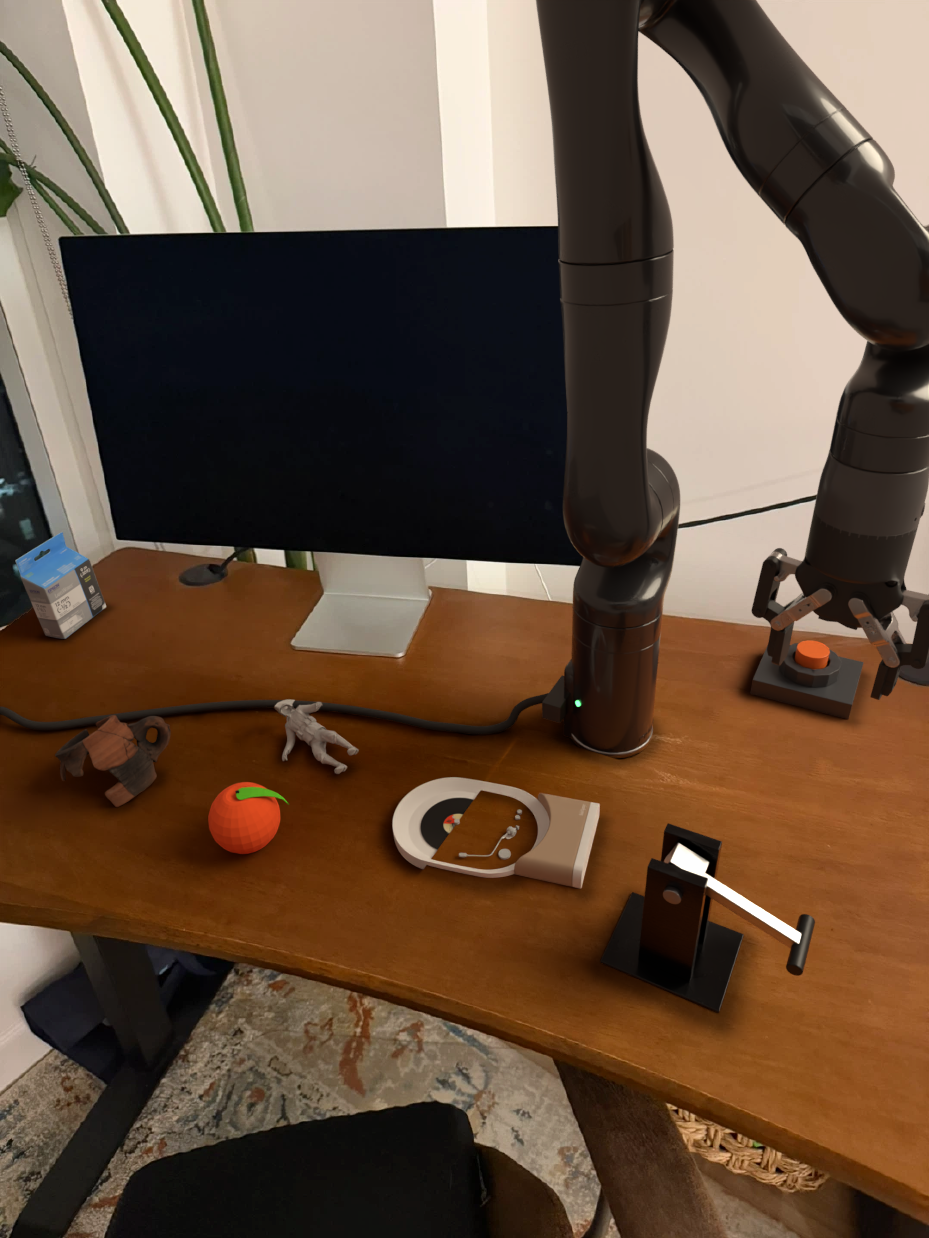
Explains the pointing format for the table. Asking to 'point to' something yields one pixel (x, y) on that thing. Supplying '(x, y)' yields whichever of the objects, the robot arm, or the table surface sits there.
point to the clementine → (244, 817)
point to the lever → (750, 909)
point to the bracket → (676, 928)
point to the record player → (551, 858)
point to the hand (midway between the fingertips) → (827, 676)
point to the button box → (809, 683)
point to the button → (812, 654)
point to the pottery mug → (118, 754)
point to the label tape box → (60, 587)
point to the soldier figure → (311, 733)
